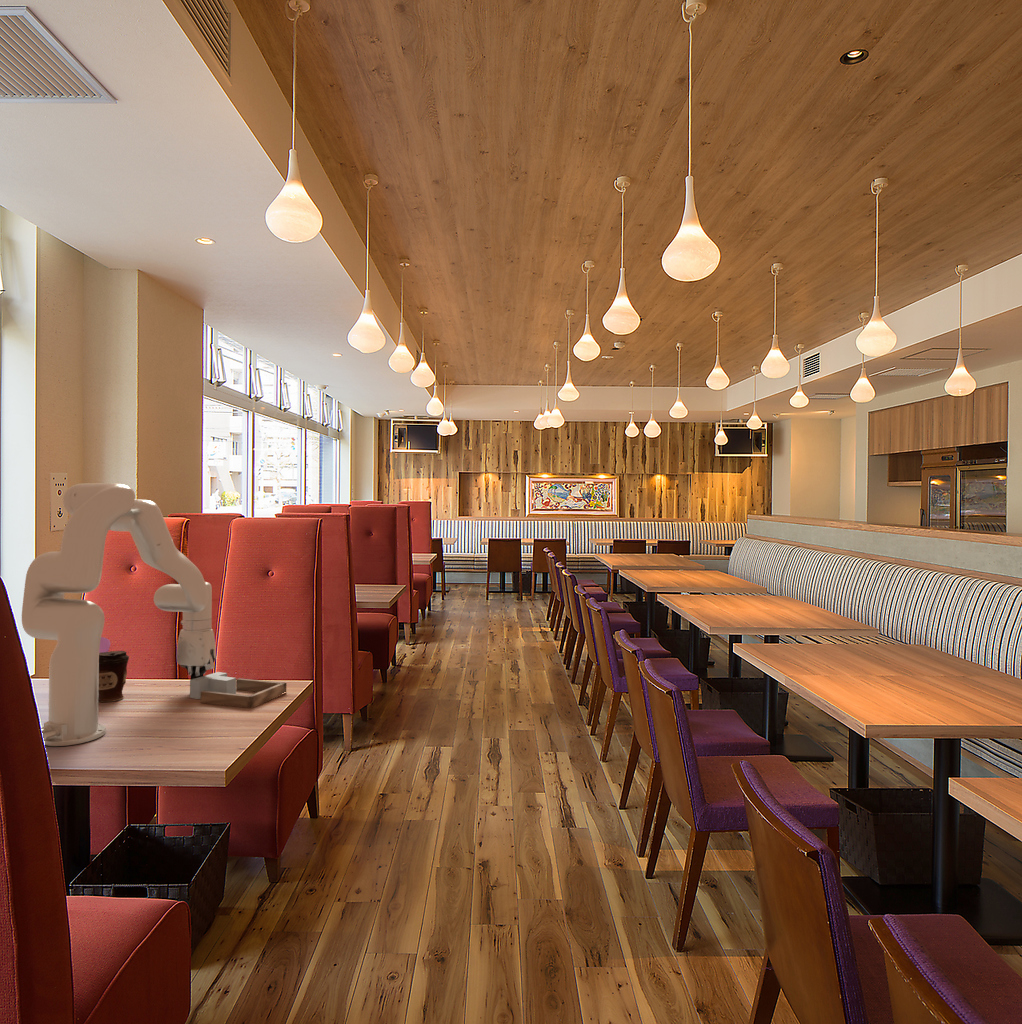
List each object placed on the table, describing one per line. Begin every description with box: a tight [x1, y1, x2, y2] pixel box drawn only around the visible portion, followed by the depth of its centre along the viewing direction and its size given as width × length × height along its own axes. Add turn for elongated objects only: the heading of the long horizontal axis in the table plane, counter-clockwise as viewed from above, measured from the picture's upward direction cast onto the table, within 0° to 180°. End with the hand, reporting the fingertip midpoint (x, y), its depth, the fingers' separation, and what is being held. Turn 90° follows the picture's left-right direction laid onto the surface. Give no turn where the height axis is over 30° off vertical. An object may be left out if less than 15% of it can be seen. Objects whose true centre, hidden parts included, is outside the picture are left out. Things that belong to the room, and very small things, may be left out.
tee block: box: [189, 671, 237, 700], centre depth 185 cm, size 10×10×5 cm
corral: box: [200, 677, 287, 709], centre depth 183 cm, size 15×16×3 cm
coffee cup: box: [98, 650, 130, 703], centre depth 180 cm, size 9×8×13 cm
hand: (196, 688), depth 188 cm, fingers closed
